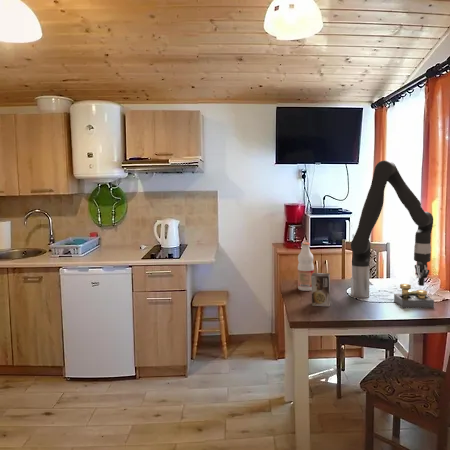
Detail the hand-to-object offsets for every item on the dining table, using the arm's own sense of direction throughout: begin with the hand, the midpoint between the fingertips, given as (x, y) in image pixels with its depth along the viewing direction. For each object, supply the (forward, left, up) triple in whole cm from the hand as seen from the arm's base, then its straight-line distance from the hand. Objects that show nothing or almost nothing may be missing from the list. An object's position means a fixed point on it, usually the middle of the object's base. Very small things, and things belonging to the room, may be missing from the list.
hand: (421, 285), depth 204 cm
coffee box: (-50, +2, -10) cm, 51 cm away
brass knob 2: (0, 0, -10) cm, 10 cm away
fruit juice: (-54, +32, -10) cm, 63 cm away
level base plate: (-4, 0, -10) cm, 11 cm away
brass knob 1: (-8, 0, -7) cm, 10 cm away
